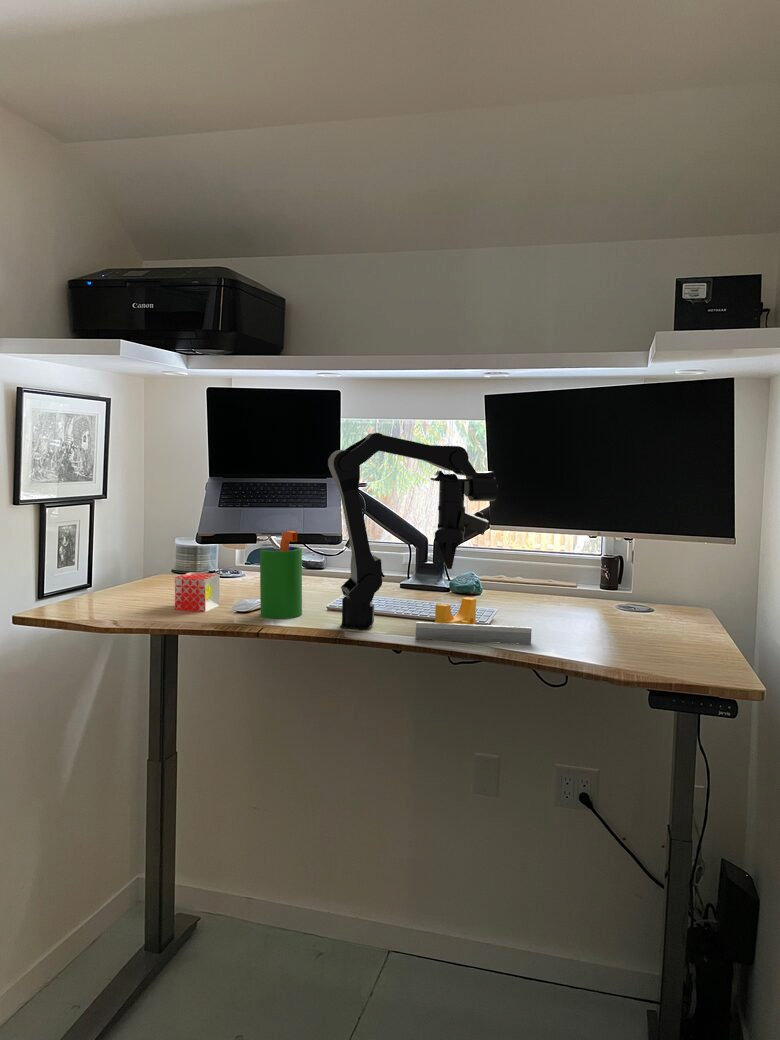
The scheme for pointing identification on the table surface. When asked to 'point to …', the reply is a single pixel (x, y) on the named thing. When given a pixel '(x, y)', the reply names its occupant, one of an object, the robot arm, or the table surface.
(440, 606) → the pipe clamp
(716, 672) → the table surface
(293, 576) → the cup with straw
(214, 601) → the puzzle cube
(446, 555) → the robot arm
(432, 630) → the rail
